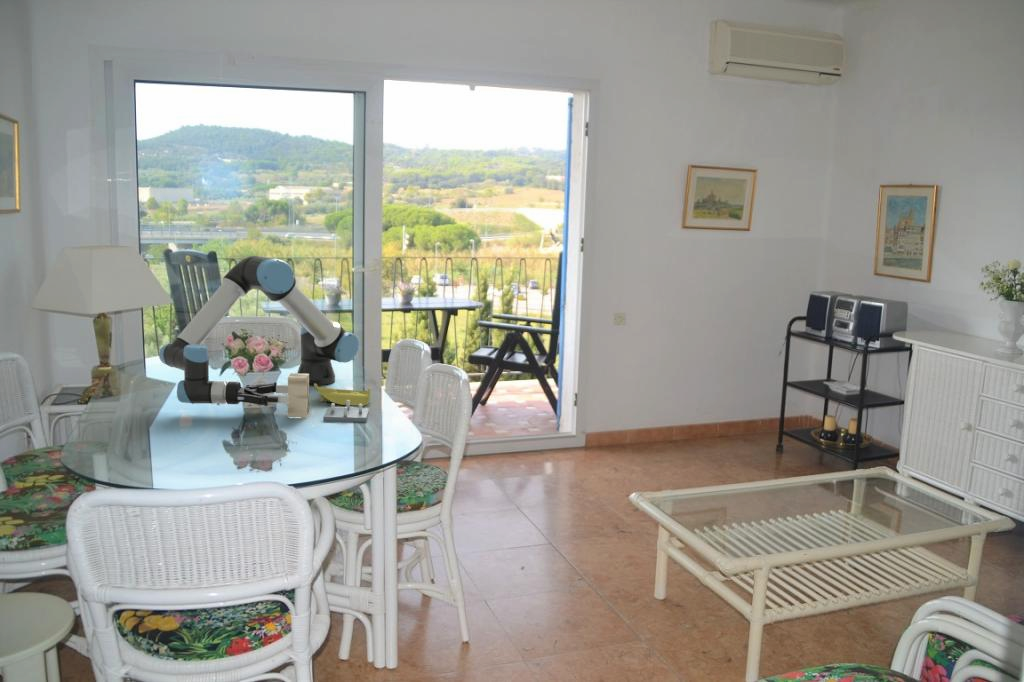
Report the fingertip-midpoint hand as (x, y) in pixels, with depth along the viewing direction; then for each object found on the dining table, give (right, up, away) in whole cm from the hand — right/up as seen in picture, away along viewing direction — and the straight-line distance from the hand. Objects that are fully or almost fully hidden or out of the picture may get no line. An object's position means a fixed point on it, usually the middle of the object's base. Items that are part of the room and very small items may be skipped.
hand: (292, 394), depth 273 cm
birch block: (+2, -7, +2) cm, 8 cm away
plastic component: (+12, -5, +23) cm, 26 cm away
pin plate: (+17, -8, +4) cm, 19 cm away
